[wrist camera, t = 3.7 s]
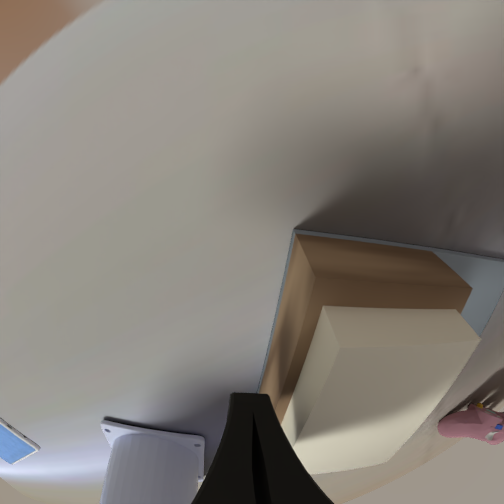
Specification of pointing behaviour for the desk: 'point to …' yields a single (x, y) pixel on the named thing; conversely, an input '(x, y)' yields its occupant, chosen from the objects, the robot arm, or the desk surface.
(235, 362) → the desk surface
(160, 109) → the desk surface
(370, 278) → the brown wooden block
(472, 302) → the mat
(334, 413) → the cream rectangular block
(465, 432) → the video game controller
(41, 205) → the desk surface
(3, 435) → the tablet computer
